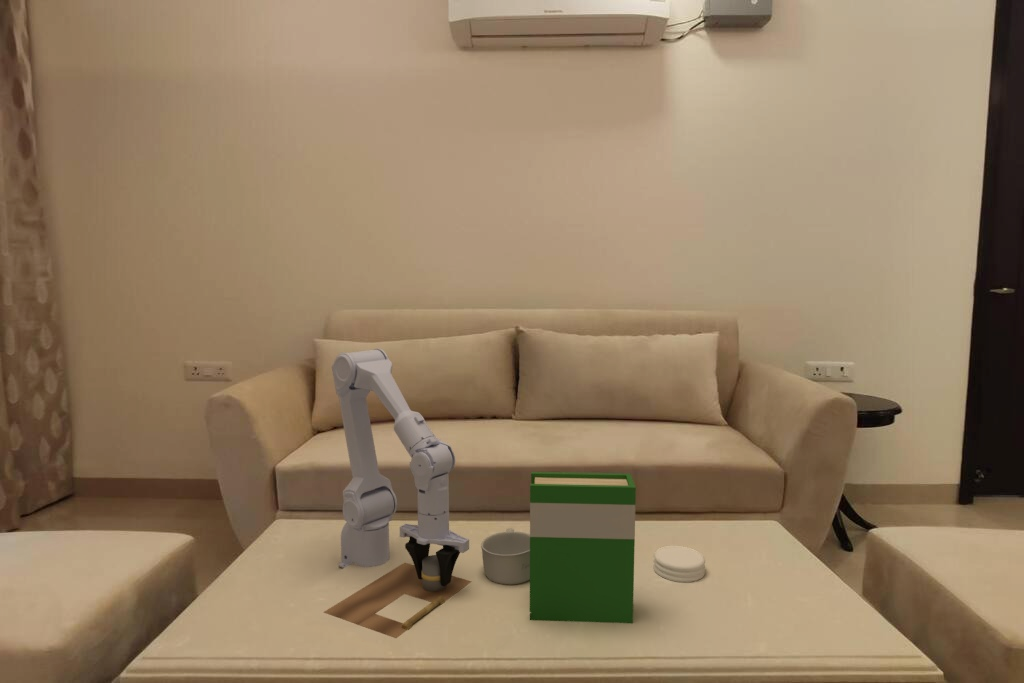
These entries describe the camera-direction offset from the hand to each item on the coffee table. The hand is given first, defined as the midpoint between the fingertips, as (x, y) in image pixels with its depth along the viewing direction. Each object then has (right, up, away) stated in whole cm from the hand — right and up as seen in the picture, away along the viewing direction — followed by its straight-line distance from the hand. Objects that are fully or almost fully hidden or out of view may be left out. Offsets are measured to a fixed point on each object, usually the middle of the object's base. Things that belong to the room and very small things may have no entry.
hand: (434, 580), depth 122 cm
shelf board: (-6, -3, -3) cm, 7 cm away
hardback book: (+27, -4, -6) cm, 27 cm away
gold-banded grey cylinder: (0, -1, 0) cm, 1 cm away
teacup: (+14, -2, +7) cm, 16 cm away
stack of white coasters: (+48, -2, +10) cm, 49 cm away
